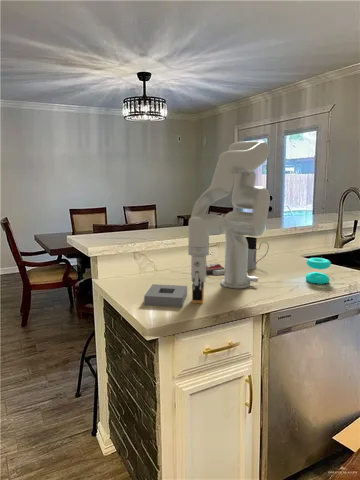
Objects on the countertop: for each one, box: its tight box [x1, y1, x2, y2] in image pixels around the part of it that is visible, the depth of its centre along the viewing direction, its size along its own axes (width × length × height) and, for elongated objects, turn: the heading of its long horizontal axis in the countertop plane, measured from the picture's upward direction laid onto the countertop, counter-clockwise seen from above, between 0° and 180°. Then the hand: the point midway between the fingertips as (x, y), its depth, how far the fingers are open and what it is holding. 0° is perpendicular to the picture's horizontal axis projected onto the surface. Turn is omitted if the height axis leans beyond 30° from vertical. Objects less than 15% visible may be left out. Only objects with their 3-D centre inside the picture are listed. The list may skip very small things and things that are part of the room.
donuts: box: [305, 257, 332, 285], centre depth 162 cm, size 10×10×10 cm
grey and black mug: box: [245, 236, 270, 270], centre depth 185 cm, size 9×14×15 cm, turn 70°
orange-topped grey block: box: [191, 282, 205, 304], centre depth 138 cm, size 4×4×7 cm
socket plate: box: [143, 283, 188, 308], centre depth 140 cm, size 14×14×4 cm
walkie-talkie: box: [206, 262, 225, 276], centre depth 177 cm, size 9×4×20 cm
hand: (198, 297), depth 138 cm, fingers closed on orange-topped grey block, 3 cm apart
